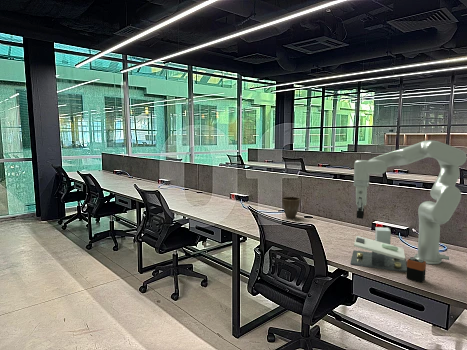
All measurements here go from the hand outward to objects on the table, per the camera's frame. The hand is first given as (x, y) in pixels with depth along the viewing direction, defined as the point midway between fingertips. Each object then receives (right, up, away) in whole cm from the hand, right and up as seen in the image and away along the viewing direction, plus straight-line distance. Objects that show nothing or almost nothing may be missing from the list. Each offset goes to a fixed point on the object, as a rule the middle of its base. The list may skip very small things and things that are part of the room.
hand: (360, 216), depth 171 cm
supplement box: (+19, -22, +16) cm, 33 cm away
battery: (+16, -26, -23) cm, 39 cm away
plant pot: (-20, -13, +95) cm, 98 cm away
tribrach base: (+9, -24, -1) cm, 25 cm away
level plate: (+9, -18, -2) cm, 20 cm away
